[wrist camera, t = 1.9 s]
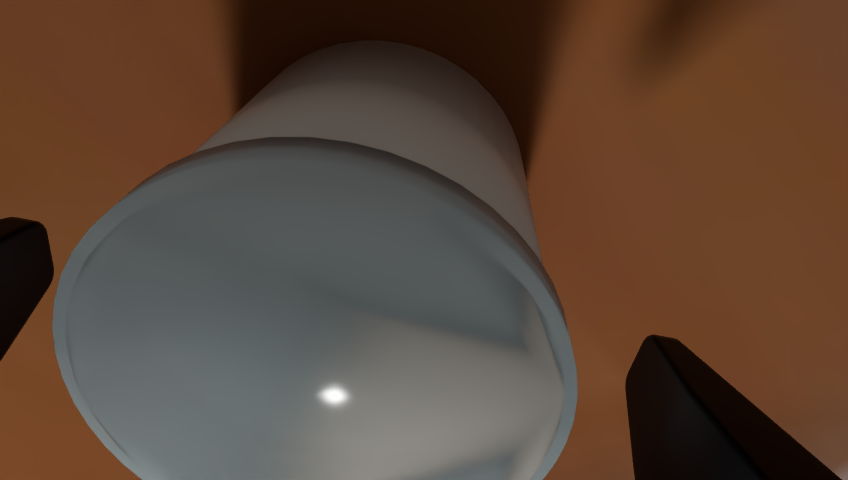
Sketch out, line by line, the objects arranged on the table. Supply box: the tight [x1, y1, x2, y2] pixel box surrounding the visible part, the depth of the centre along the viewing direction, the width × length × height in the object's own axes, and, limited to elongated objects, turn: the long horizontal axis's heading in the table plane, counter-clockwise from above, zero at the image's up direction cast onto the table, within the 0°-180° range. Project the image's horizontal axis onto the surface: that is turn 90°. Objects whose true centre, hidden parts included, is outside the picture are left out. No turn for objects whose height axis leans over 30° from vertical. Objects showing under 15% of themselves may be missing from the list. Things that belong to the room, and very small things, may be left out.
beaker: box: [52, 40, 577, 480], centre depth 10 cm, size 6×6×6 cm
